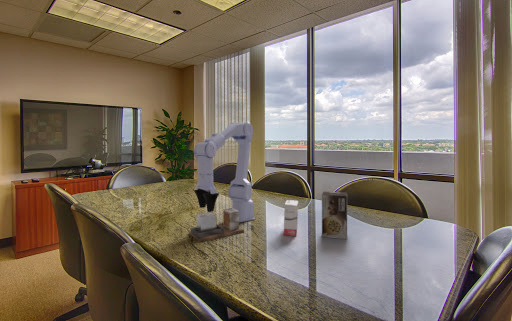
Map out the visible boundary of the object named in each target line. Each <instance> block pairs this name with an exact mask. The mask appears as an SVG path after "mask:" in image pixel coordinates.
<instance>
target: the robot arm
mask: <svg viewBox="0 0 512 321" xmlns="http://www.w3.org/2000/svg"><path fill="white" fill-rule="evenodd" d="M253 136H254V128H253V125H252V124H251V122H249V121H245V122H230V123H229V124H227V127H226V128H224V129H223V130H222V131H221V132H220V133H219V132H217V133H216V132H213V133H211V136H209V137H208V138H205V139H204V141H202V142H198V143H196V144H195V146H194V149H193V154H194V156H195V158H196V160H195V161H196V162H197V183H196V186H195V187H194V188H195V189H194V190H193V192H194V193H195V196H196V198H197V202H198V205H199V208H201V209H203V208H206V210H207V213H209V212H212V213H214V211H215V206H216V202H217V199H218V197H219V195H220V192H217V187H215V185H214V157H215V156H216V154H217V151H218V150H220V149H221V148H222V147H224V145H225V143H226V141H227V140H228V139H230V138H232V139H233V140H234V141H235V142H236V143H237V144H238V152H237V159H236V170H235V178H234V179H233V180H231V181H230V184H229V188H228V190H227V194H228V197H229V198H230V200H231V201H232V203H231V204H232V206H231V208H233V209H235V210H238V211H239V223H243V222H250V221H254V220H256V218H255V206H254V201H253V200H252V199H251V198H252V196H253V189H252V185H253V184H252V182H250V181H249V180H248V170H249V163H250V161H249V160H250V153H251V145H252V144H251V143H252V142H253Z"/></svg>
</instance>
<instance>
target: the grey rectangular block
mask: <svg viewBox="0 0 512 321" xmlns="http://www.w3.org/2000/svg"><path fill="white" fill-rule="evenodd" d="M196 223H197V224H196V225H197V226H196V227H197V232H198V233H202V232H207V231H212V230H216V228H217V225H218V222H217V214H216V213H214V212H204V213H198V214H196Z"/></svg>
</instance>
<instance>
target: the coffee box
mask: <svg viewBox="0 0 512 321" xmlns="http://www.w3.org/2000/svg"><path fill="white" fill-rule="evenodd" d="M321 237H322V238H329V239H330V238H331V239H341V240H347V239H348V192H344V191H322V194H321Z"/></svg>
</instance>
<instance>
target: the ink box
mask: <svg viewBox="0 0 512 321" xmlns="http://www.w3.org/2000/svg"><path fill="white" fill-rule="evenodd" d="M283 216H284V217H283V218H284V219H283V236H290V237H291V236H292V237H293V236H294V237H296V236H297V232H298V221H299V220H298V219H299V217H298V216H299V200H293V199H292V200H291V199H287V200H285V203H284V215H283Z"/></svg>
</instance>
